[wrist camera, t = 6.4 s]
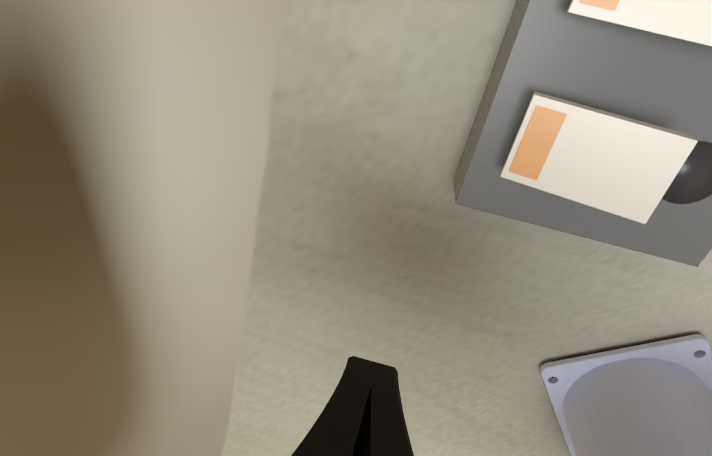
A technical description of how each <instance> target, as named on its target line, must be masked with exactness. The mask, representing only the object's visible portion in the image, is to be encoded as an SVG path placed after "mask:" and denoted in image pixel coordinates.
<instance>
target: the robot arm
mask: <svg viewBox="0 0 712 456" xmlns="http://www.w3.org/2000/svg"><path fill="white" fill-rule="evenodd" d="M698 350H700V351H698ZM696 351H698V352H696ZM540 372H541V375H542V378H543V381H544V384H545V386H546V389H547V392H548V394H549V397H550V400H551V403H552V405H553V408H554V411H555V413H556V416H557V419H558V422H559V424H560V427H561V430H562V432H563V435H564V438H565V441H566V443H567V446H568V449H569V451H570V454H571V456H712V356H711V350H710V344H709V342H708V340H707V339H706V338H705V337H704V336H703V335H699V334H695V335H689V336H684V337H678V338H673V339H668V340H663V341H658V342H652V343H647V344H642V345H637V346H632V347H626V348H621V349H616V350H611V351H605V352H600V353H595V354H590V355H585V356H579V357H574V358H569V359H564V360H559V361H553V362H548V363H545V364H543V365H542V366H541V367H540ZM550 377H554V378H550ZM291 456H414V455H413V451H412V447H411V444H410V439H409V435H408V431H407V427H406V423H405V419H404V414H403V409H402V403H401V398H400V391H399V384H398V372H397V370H396V369H395V368H394V367H391V366H387V365H383V364H380V363H376V362H373V361H369V360H365V359H362V358H358V357H355V356H352V357H350V358H348V362H347V365H346V368H345V370H344V373H343V375H342V377H341V380H340V382H339V384H338V386H337V387H336V389H335V391H334V393H333V395H332V397H331V398H330V400H329V402H328V403H327V405H326V407H325V408H324V410H323V412H322V413H321V415H320V416H319V418H318V419H317V421H316V422H315V424H314V425H313V427H312V428H311V429H310V431H309V432H308V434H307V435H306V437H305V438H304V439H303V441H302V442H301V444H300V445H299V446H298V448H297V449H296V450H295V452H294V453H293V454H292V455H291Z"/></svg>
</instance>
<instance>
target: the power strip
mask: <svg viewBox="0 0 712 456" xmlns="http://www.w3.org/2000/svg"><path fill="white" fill-rule="evenodd" d="M570 3H571V0H517V2H516V5H515V8H514V11H513V13H512V16H511V19H510V22H509V25H508V28H507V30H506V33H505V36H504V39H503V42H502V45H501V47H500V50H499V53H498V56H497V59H496V62H495V64H494V67H493V70H492V73H491V76H490V79H489V81H488V84H487V87H486V90H485V93H484V96H483V98H482V101H481V104H480V107H479V110H478V113H477V115H476V118H475V121H474V124H473V127H472V130H471V132H470V135H469V138H468V141H467V144H466V147H465V149H464V152H463V155H462V158H461V161H460V164H459V166H458V169H457V172H456V175H455V178H454V191H455V202H456V204H458V205H462V206H466V207H470V208H474V209H477V210H481V211H485V212H489V213H493V214H497V215H501V216H504V217H508V218H512V219H516V220H520V221H524V222H527V223H531V224H535V225H539V226H543V227H547V228H550V229H554V230H558V231H562V232H566V233H570V234H573V235H577V236H581V237H585V238H589V239H593V240H597V241H600V242H604V243H608V244H612V245H616V246H620V247H623V248H627V249H631V250H635V251H639V252H643V253H646V254H650V255H654V256H658V257H662V258H666V259H669V260H673V261H677V262H681V263H685V264H689V265H692V266H696V267H698V265H699V264H700V263H701V261H702V260H703V259H704V257H705V256H706V255H707V253H708V252H709V251H710V249H711V248H712V47H711V46H707V45H702V44H698V43H694V42H690V41H686V40H681V39H677V38H673V37H669V36H665V35H660V34H656V33H652V32H648V31H644V30H639V29H635V28H631V27H627V26H623V25H618V24H614V23H610V22H606V21H602V20H597V19H593V18H589V17H585V16H581V15H576V14H572V13H568V12H567V10H568V8H569V5H570ZM534 91H536V92H539V93H543V94H547V95H550V96H554V97H557V98H561V99H564V100H568V101H571V102H575V103H579V104H582V105H586V106H589V107H593V108H596V109H600V110H603V111H607V112H611V113H614V114H618V115H621V116H625V117H628V118H632V119H635V120H639V121H643V122H646V123H650V124H653V125H657V126H660V127H664V128H667V129H671V130H675V131H678V132H682V133H685V134H689V135H691V136H692V137H694V138H695V139H696V140H697V141H698V142H697V144H696V145H695V147H694V148H693V150H692V151H691V153H690V155H689V156H688V158H687V159H686V161H685V162H684V164H683V166H682V167H681V169H680V170H679V172H678V174H677V175H676V177H675V178H674V180H673V181H672V183H671V185H670V186H669V188H668V189H667V191H666V192H665V194H664V196H663V197H662V199H661V200H660V202H659V203H658V205H657V207H656V208H655V210H654V211H653V213H652V214H651V216H650V218H649V219H648V221H647V222H646V224H643V223H640V222H637V221H634V220H631V219H628V218H625V217H622V216H619V215H615V214H612V213H609V212H606V211H603V210H600V209H597V208H594V207H591V206H588V205H585V204H582V203H579V202H576V201H573V200H570V199H567V198H564V197H561V196H558V195H555V194H552V193H549V192H546V191H543V190H540V189H536V188H533V187H530V186H527V185H524V184H521V183H518V182H515V181H512V180H509V179H506V178H503V177H500V176H501V172H502V169H503V166H504V164H505V161H506V159H507V157H508V154H509V152H510V149H511V147H512V144H513V142H514V139H515V137H516V135H517V132H518V130H519V127H520V125H521V122H522V120H523V118H524V115H525V113H526V110H527V108H528V105H529V103H530V100H531V98H532V96H533V93H534Z"/></svg>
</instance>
